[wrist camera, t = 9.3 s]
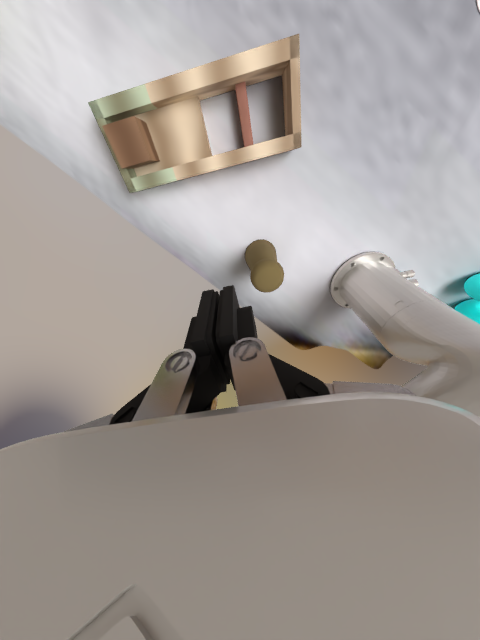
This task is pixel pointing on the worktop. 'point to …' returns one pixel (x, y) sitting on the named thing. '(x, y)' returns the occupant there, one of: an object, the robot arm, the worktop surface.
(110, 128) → the block
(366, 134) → the worktop surface
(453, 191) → the worktop surface
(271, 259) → the cork
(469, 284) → the donuts
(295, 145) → the box
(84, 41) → the worktop surface
